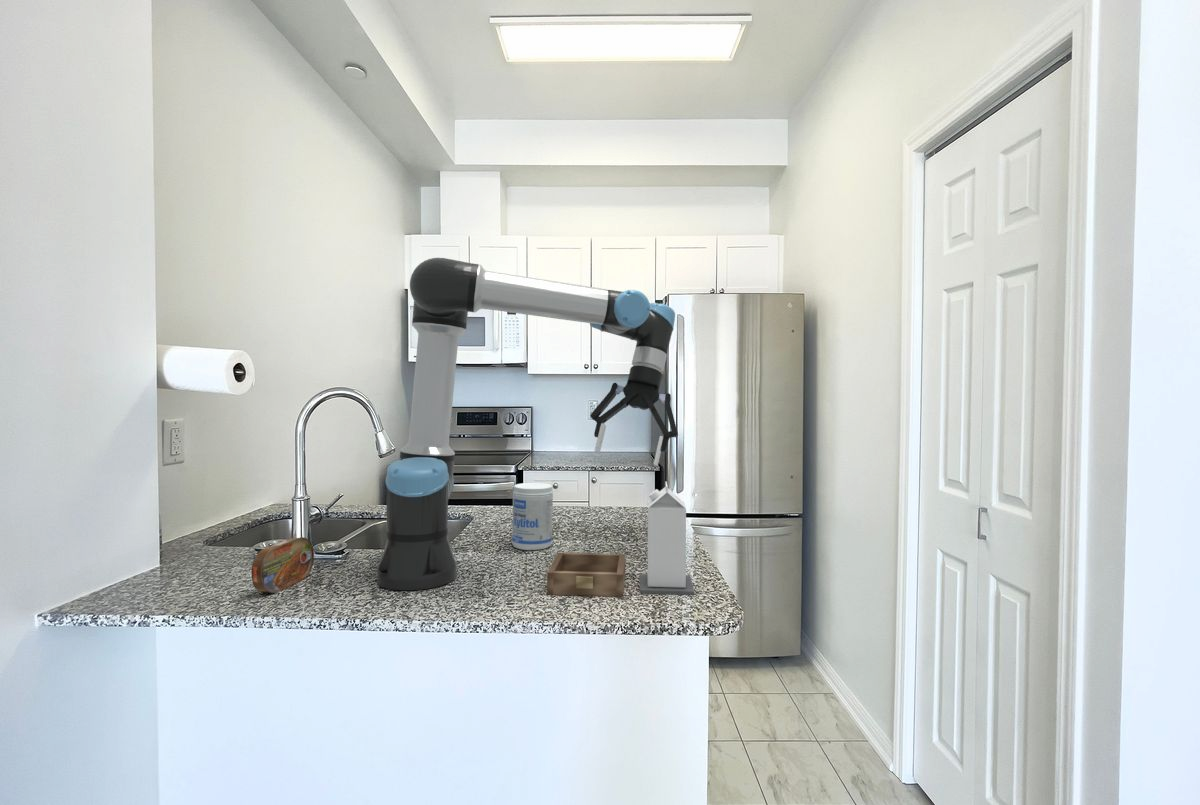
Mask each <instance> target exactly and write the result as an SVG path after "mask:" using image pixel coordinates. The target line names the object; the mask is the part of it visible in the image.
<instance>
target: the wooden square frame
mask: <svg viewBox="0 0 1200 805" xmlns="http://www.w3.org/2000/svg"><path fill="white" fill-rule="evenodd" d="M626 558H627V556H626V554H625V553H598V552H597V553H595V552H594V553H593V552H591V553H590V552H557V553H556V555H555V557H554V559H553V561H552V563H551V564H550V566H549V568H548V570H547V572H546V595H555V596H556V595H557V596H559V595H560V596H561V595H562V596H588V597H589V596H590V597H591V596H593V597H620V598H621V597H624V593H625V592H624V590H625V582H626V564H627V563H626Z"/></svg>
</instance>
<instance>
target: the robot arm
mask: <svg viewBox="0 0 1200 805" xmlns="http://www.w3.org/2000/svg"><path fill="white" fill-rule="evenodd" d="M409 291H410V295H411V297H412V299H413V309H412V319H411V326H412V327H413V328H414V329H415V330H416V332H417V345H416V355H415V356H416V358H415V366H414V377H413V390H412V400H411V408H410V409H411V411H410V419H409V420H410V422H409V432H408V433H409V434H408V442H407V443H406V444H405V445H403V447H401V448H400V450H399V451H400V452H399V459H398V460H395V461H393V462H392V463H390V464H389V465H388V466H387V469H386V476H385V481H384V482H385V486H386V542H385V546H384V549H383V552H382V555H381V559H380V561H379V564H378V568H377V572H376V575H377V576H376V581H377V582H376V583H377V585H379V586H380V587H382V588H384V589H387V590H388V589H389V590H392V591H393V590H396V591H419V590H426V589H432V588H436V587H440V586H443V585H447V584H449V583H451V582H453V581H455V580H456V578H457V575H458V568H457V567H458V565H457V561H456V558H455V555H454V552H453V548H452V547H451V544H450V540H449V531H448V528H449V527H448V526H449V521H448V520H449V513H448V512H449V509H448V507H449V499H450V497H451V495H452V492H453V490H454V485H455V484H454V483H455V480H454V469H455V468H454V467H455V456H456V455H455V454H456V452H455V451H454V450H453V449H452V448H451V446H450V444H449V443H450V435H451V434H450V433H451V432H450V431H451V423H452V412H453V400H454V391H455V390H454V388H455V377H456V369H457V368H456V366H457V358H458V357H457V356H458V347H459V338H460V337H461V336H462V335H463V334H465V333H466V331H467V324H468V315H469V313H477V312H478V311H480V310H481V309H484V310H489V311H490V310H491V311H499V312H505V313H512V314H513V313H514V314H518V315H519V314H521V315H526V316H534V317H541V318H548V319H554V320H555V319H557V320H565V321H571V322H579V323H584V324H585V323H586V324H589V326H590V327H591V328H594V329H596V330H599V331H600V332H604V333H608V334H612V335H615V336H619V337H622V338H625V339H629V340H630V341H635V342H636V345H635V349H634V352H633V356H632V361H631V365H632V366H631V367H630V369H629V374H628V378H627V382H626V384H625V386H622V385H619V384H618V383H617V382H613V383H612V385H611V387H610V391H609V392H608V393H607V394H606V395H605V397H603V399H602V400H601V402H599V404H598V405H597V406H596V407H595V408H594V410H593V411H592V412H591V413H590V418H591V420H593V421H595V422H596V425H595V430H594V434H593V435H594V436H593V437H595V438H597V439H596V442H595V446H594V447H595V448H594V452H595V453H596V454H600V453H601V449H602V445H603V441H604V436H605V432H606V429H607V425H606V424H605V423H607V421H609V420H610V419H612V418H613V417H614V416H615V415H617V414H618V413H620V412H621V411H622V410H624V409H626V408H627V407H628V406H630V407H631V408H633V409H640V410H644V411H646V410H649V411H650V413H651V414H652V416H653V418H654V420H655V422H656V425H657V426H658V427H659V430H660V432H661V433H662V435H659V439H658V443H657V446H656V451H655V456H654V460H653V466H655V467H658V466H659V463H660V458H661V453H666V452H667V449H668V445H669V440H670V439H671V438H678V436H679V433H678V429H677V424H676V421H675V417H674V414H673V410H672V406H671V405H672V404H671V403H672V396H671V395H672V394H671V393H669V392H668V393H666V394H664V393H660V388H661V387H660V386H661V383H662V378H663V374H662V372H664V370H665V365H666V360H667V356H668V351H669V347H670V344H671V343H670V342H671V339H672V335H673V331H674V326H675V319H676V312H675V310H674V309H673V308H672V307H671V306H669V305H667V304H665V303H658V302H650V301H649V299H648V296H647V295H645V294H644V293H643V292H642V291H640V290H636V289H627V290H623V291H621V290H620V291H619V290H616V289H615V290H614V289H607V288H601V287H595V286H594V287H592V286H588V285H581V284H574V283H569V282H568V283H567V282H562V281H561V282H560V281H556V280H555V281H554V280H549V279H544V278H535V277H531V276H530V277H529V276H523V275H522V276H521V275H518V274H509V273H502V272H497V271H496V272H495V271H489V270H486V269H484V267H483V266H482V265H481V264H478V263H471V262H465V261H461V260H456V259H451V258H446V257H432V258H428V259H425V260H424V261H422V262H420V263H419V264H418V265H417V266H416V267H415V269H414V270H413V271H412V273H411V276H410V280H409ZM621 393H623V395H624V397H623V398H622V399H621V400H620V401H619V402H617V403H616V404H615V405H613V406H612V407H611V408H610V409H608V410H607V411H606V412H604V411H605V410H606V409H607V407H609V405H610V404H611V403H612V401H613V400H614V399H615V398H616V396H617V395H620V394H621ZM659 400H660V401H661V403H662V404H663V405H664V407H665V410H666V415H667V419H668V422H669V426H670V429H671V430H670V431H669V430H668V429H667V427H666V425H665V423H664V422H663V419H662V418H661V416H660V414H659V412H658V411H657V409H656V406H655V403H657V401H659ZM603 412H604V413H603Z"/></svg>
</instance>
